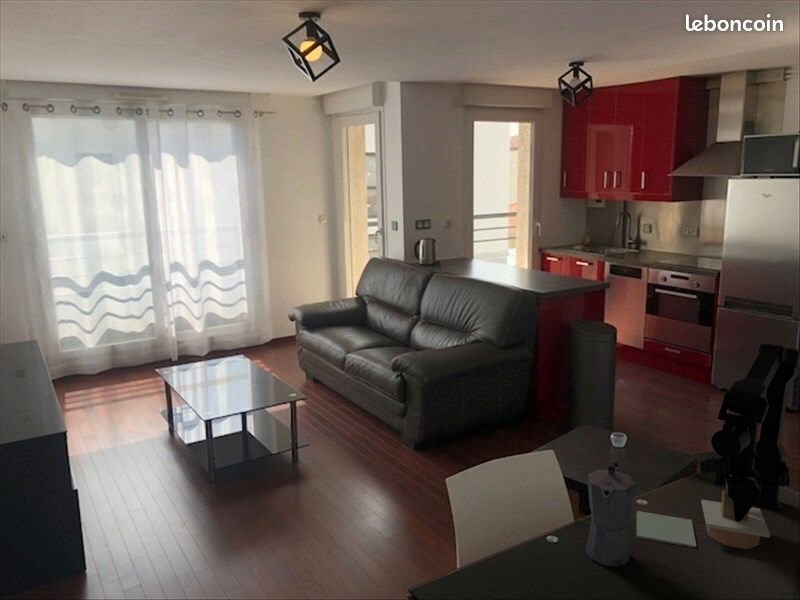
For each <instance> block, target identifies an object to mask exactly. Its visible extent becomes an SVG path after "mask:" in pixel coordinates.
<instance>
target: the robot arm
mask: <svg viewBox="0 0 800 600" xmlns="http://www.w3.org/2000/svg"><path fill="white" fill-rule="evenodd" d="M799 373H800V350H799V348H795V347H789V346H784V345H782V344H776V343H769V342H764V343H761V344H760V346H759V349H758V354H757V356H756V358H755V360H754V361H753V362H752V365H751V367H750V368H749V369H748V372H747V373H746V375H745V376H744V378H742V379H740V380H736V381H734V382H733V383H732V385H731V386H730V387H729V389H727V391H726V392H725V394H724V397H723V400H722V401H721V402H722V403H721V405H720V409H719V412H718V416H717V419H718V420H720V421H723V422H724V423H723V424H722V428H720V429H719V430H717V431H716V432H715V433H714V434H712V437H711V441H710V442H711V446H712V449H713V450H712V451H711V450H710V451H706V452H700V453H697V454H696V455H695V457H696V461H697V465H698V468H699V471H700V474H701V475H703V476H704V475H705V476H706V475H710V474H713V473H720V474H721V475H722V476H723V477H724V478H725V490H726V493H727V496H728V497H730V498H731V499H732V500H733V509H734V518H735V521H737V522H741V521H742V519H743V518H744V517H745V515H746V514H747V513H748V511H749V510H750V509H751V508H753V507H754V506H755V507H762V508H768V509H774V510H779V511H782V510H783V505H782V504H781V502H780V494H781V493H780V491H781V487H783V488H784V487H786V486H788V487H789V486H790V485H791V479H792V478H791V469H790V467H789V462H787V459H788V458H787V457H788V454H787V452H786V450H785V447H784V445H783V444H782V436H783V430H784V429H783V428H784V422H785V416H786V408H787V400H788V396H789V395H788V394H789V387H790V384H791V383H792V381H794V380H795V378H796V377H797V376H798V375H799ZM759 426H760V433H759V432H758V431H759ZM758 433H759V438H758ZM749 477H750V478H752V479H750V478H749Z"/></svg>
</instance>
